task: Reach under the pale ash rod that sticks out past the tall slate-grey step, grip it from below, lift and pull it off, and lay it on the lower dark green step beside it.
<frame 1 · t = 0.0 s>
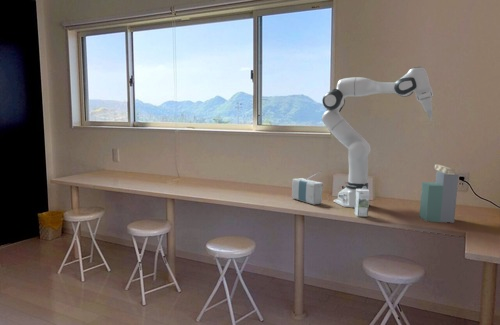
hand: (431, 120, 219), 52 cm above the table, tool tilted 20°, fingers open, 8 cm apart
stepped riser: (436, 219, 212), on the table
ash rod: (444, 171, 213), point 25 cm above the table, touching stepped riser
stereo radio cassette player: (306, 201, 249), on the table
syrup box: (361, 216, 216), on the table
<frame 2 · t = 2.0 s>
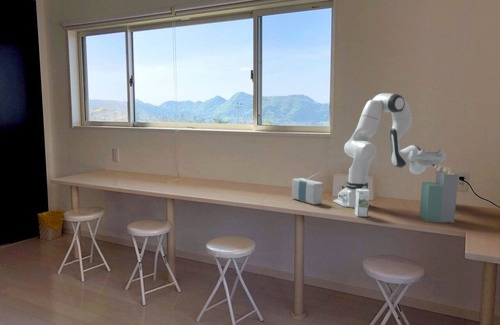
hand: (431, 150, 230), 35 cm above the table, tool pointing upward, fingers open, 8 cm apart
nothing on the table moved.
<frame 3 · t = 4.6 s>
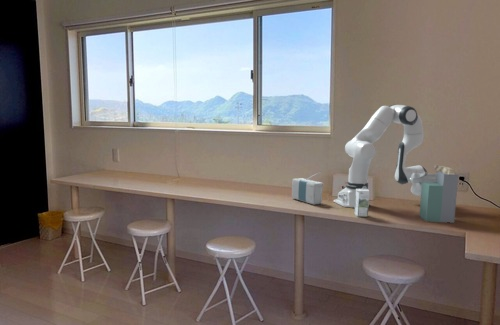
hand: (434, 173, 225), 22 cm above the table, tool pointing upward, fingers open, 8 cm apart
nothing on the table moved.
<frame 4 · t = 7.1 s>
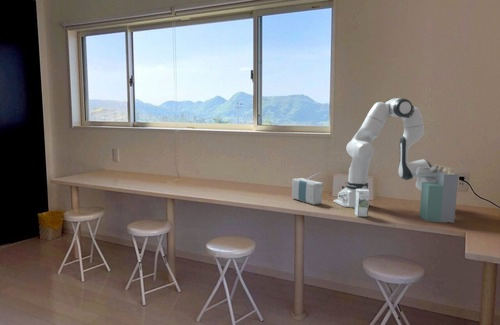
hand: (440, 167, 218), 27 cm above the table, tool pointing upward, fingers closed on ash rod, 3 cm apart
ash rod: (444, 171, 213), point 25 cm above the table, touching gripper, stepped riser
everything else where it was.
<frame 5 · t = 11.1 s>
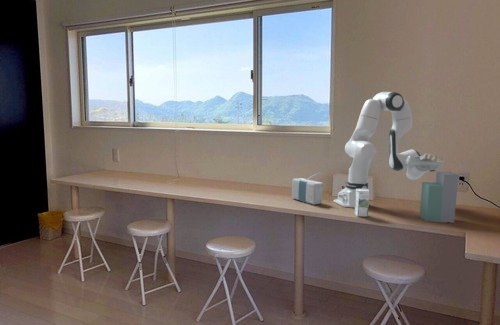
hand: (429, 155, 224), 32 cm above the table, tool pointing upward, fingers closed on ash rod, 3 cm apart
ash rod: (433, 160, 219), point 30 cm above the table, touching gripper
everything else where it was.
when the fingers open (22 cm above the table, at t = 15.2 s): ash rod drops 2 cm, resting on stepped riser.
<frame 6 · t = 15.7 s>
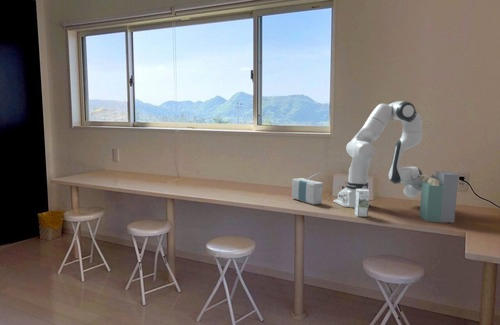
hand: (426, 175, 219), 22 cm above the table, tool pointing upward, fingers open, 7 cm apart
ash rod: (429, 182, 214), point 19 cm above the table, touching stepped riser
everything else where it was.
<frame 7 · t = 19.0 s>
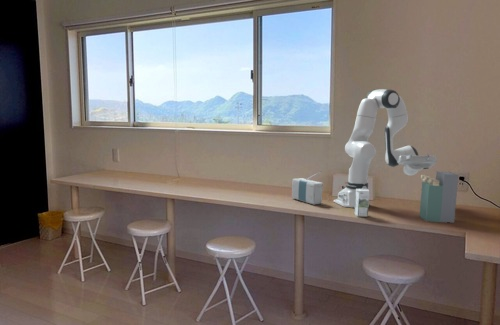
hand: (420, 155, 225), 32 cm above the table, tool pointing upward, fingers open, 8 cm apart
nothing on the table moved.
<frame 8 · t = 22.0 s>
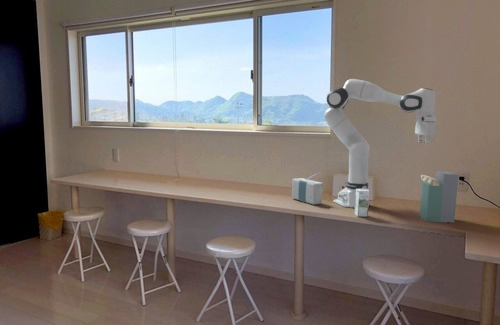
hand: (423, 143, 222), 39 cm above the table, tool pointing down, fingers open, 8 cm apart
nothing on the table moved.
at the end: ash rod inside the target area (0.9 cm from its centre), point 19.0 cm above the table; the gripper is holding nothing; ash rod tilted 0° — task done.
